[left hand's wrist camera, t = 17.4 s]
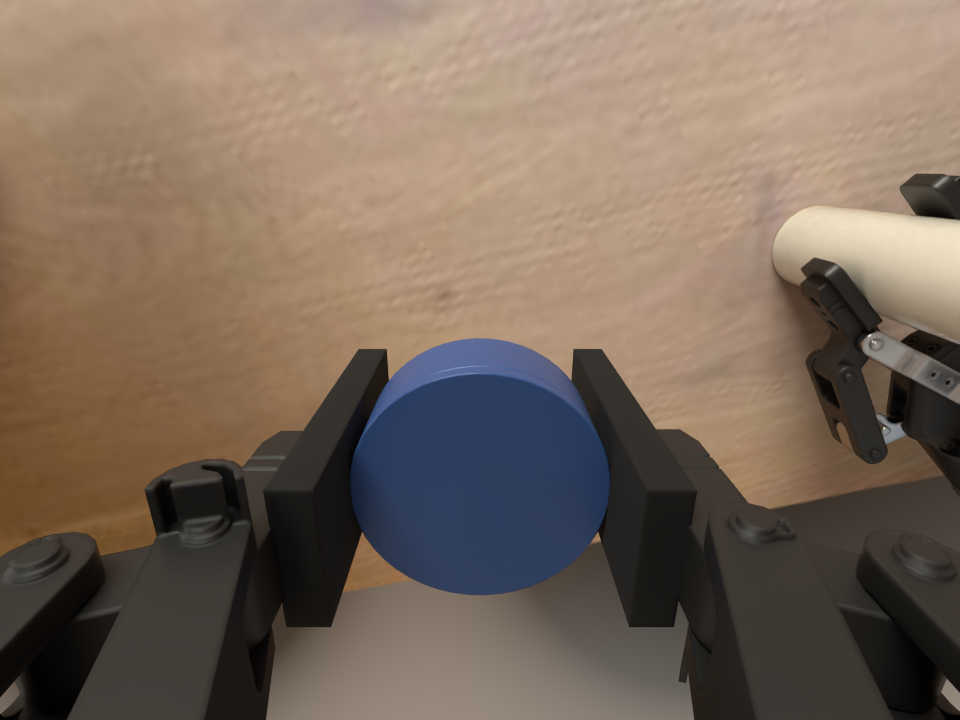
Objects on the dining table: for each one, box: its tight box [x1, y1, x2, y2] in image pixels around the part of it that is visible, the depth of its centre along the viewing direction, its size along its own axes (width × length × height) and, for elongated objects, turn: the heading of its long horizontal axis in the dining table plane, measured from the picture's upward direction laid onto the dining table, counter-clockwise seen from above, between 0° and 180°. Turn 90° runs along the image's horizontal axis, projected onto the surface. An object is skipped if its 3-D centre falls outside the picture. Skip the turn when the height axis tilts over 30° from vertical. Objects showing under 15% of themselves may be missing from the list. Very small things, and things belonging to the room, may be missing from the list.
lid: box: [350, 338, 610, 595], centre depth 11 cm, size 5×5×2 cm
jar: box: [772, 205, 960, 345], centre depth 21 cm, size 5×5×19 cm
